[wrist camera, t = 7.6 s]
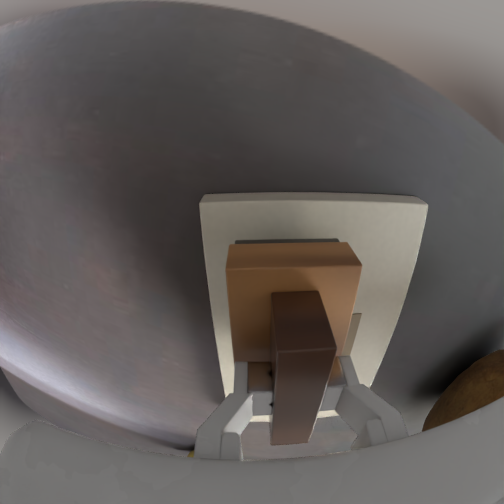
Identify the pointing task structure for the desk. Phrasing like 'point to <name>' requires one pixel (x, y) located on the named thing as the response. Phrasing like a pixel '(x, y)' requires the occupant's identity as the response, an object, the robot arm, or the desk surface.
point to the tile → (314, 227)
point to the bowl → (470, 391)
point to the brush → (292, 320)
